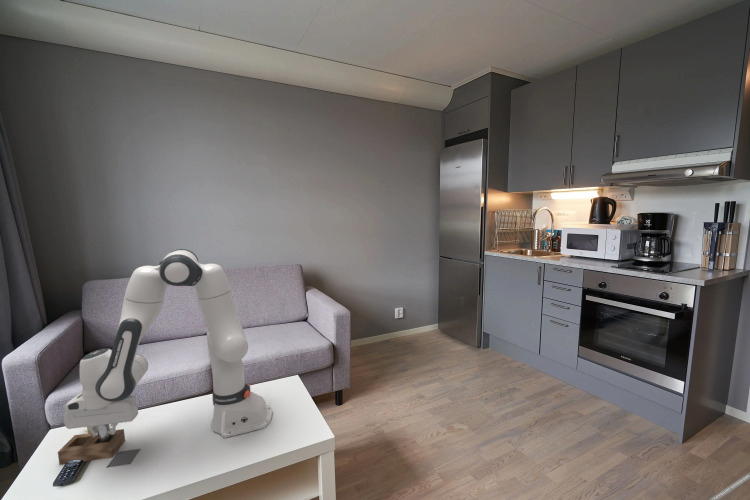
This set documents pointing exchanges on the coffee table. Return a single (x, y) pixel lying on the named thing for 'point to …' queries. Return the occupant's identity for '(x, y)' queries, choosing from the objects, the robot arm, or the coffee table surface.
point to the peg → (104, 433)
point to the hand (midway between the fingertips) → (104, 434)
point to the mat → (123, 458)
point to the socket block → (90, 447)
